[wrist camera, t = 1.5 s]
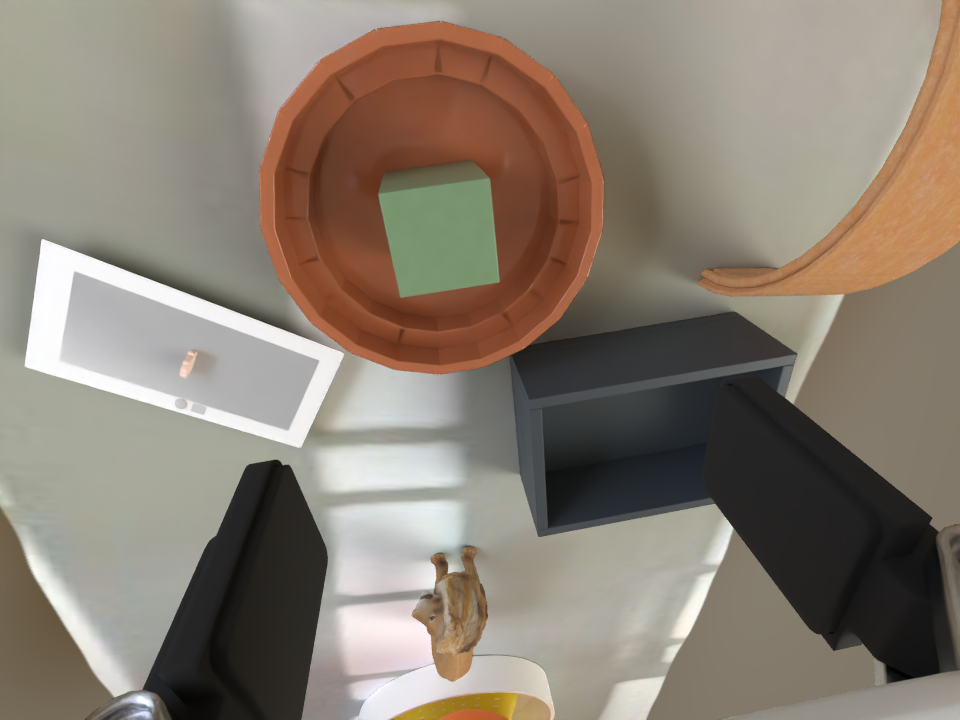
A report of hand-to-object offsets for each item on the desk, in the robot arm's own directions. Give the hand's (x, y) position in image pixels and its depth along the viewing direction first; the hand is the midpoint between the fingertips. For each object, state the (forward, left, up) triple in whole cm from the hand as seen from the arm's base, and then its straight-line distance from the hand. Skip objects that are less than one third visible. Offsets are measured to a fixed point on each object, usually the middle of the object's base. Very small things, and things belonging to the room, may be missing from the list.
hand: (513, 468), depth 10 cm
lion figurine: (+29, -4, -19) cm, 35 cm away
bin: (+13, +11, -18) cm, 25 cm away
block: (-2, 0, -18) cm, 18 cm away
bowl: (-2, 0, -18) cm, 18 cm away
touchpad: (+4, -15, -19) cm, 25 cm away
